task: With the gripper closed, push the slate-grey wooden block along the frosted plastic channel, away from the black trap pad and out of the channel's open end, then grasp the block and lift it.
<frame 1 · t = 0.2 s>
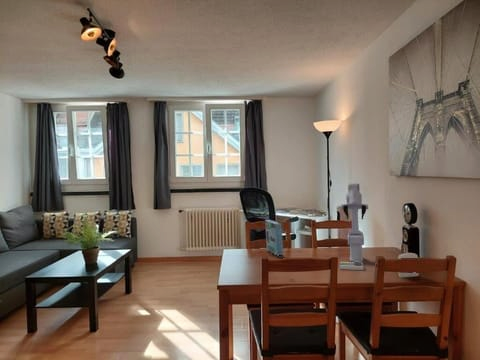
hand: (355, 218, 187), 31 cm above the table, tool tilted 45°, fingers open, 7 cm apart
slate block: (357, 267, 197), on the table
gum box: (274, 253, 240), on the table
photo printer: (408, 276, 178), on the table
channel: (351, 267, 198), on the table
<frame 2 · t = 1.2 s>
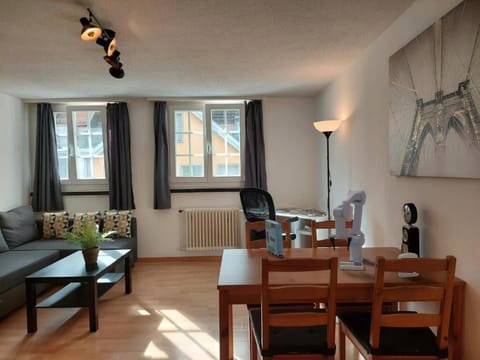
hand: (341, 250, 199), 10 cm above the table, tool pointing down, fingers open, 7 cm apart
nothing on the table moved.
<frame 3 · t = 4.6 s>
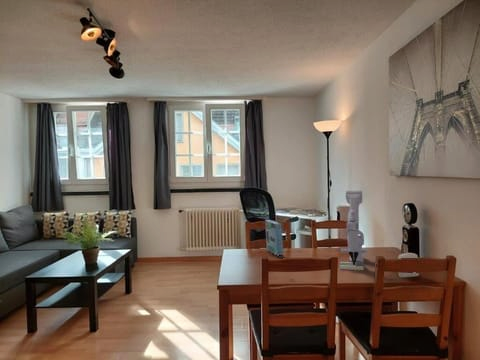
hand: (354, 264, 198), 2 cm above the table, tool pointing down, fingers closed
slate block: (360, 267, 197), on the table, touching gripper
everything else where it was.
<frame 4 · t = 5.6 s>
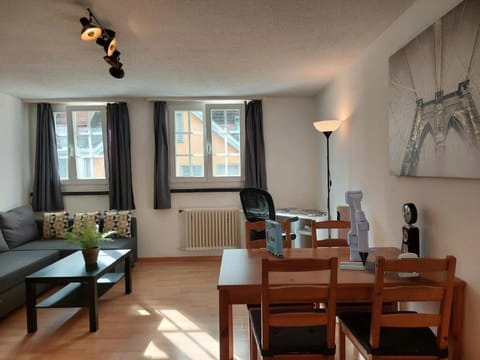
hand: (364, 265, 196), 2 cm above the table, tool pointing down, fingers closed
slate block: (370, 268, 195), on the table, touching gripper
everything else where it was.
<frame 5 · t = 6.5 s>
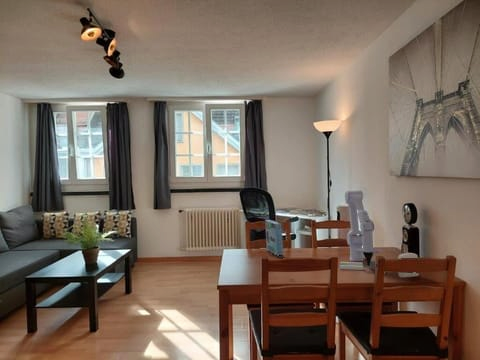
hand: (368, 265, 195), 2 cm above the table, tool pointing down, fingers closed
slate block: (374, 268, 194), on the table, touching gripper
everything else where it was.
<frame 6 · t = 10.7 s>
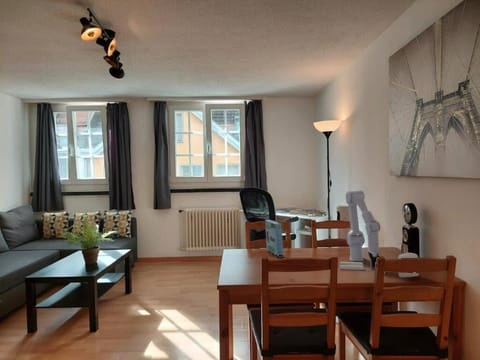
hand: (374, 265, 194), 1 cm above the table, tool pointing down, fingers closed on slate block, 4 cm apart
slate block: (374, 268, 194), on the table, touching gripper
everything else where it was.
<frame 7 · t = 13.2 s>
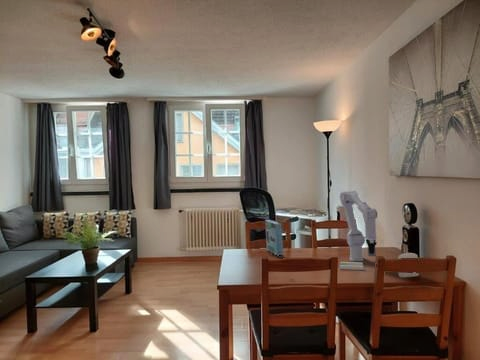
hand: (371, 252, 197), 8 cm above the table, tool pointing down, fingers closed on slate block, 4 cm apart
slate block: (371, 255, 197), point 7 cm above the table, touching gripper
everything else where it was.
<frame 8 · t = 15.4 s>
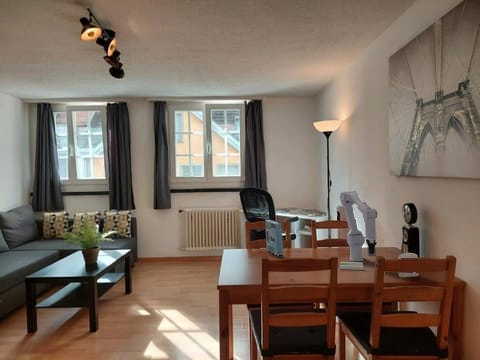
hand: (371, 252, 197), 8 cm above the table, tool pointing down, fingers closed on slate block, 4 cm apart
slate block: (371, 255, 197), point 7 cm above the table, touching gripper
everything else where it was.
at the end: slate block inside the target area (3.2 cm from its centre), point 6.7 cm above the table; the gripper is holding slate block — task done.
